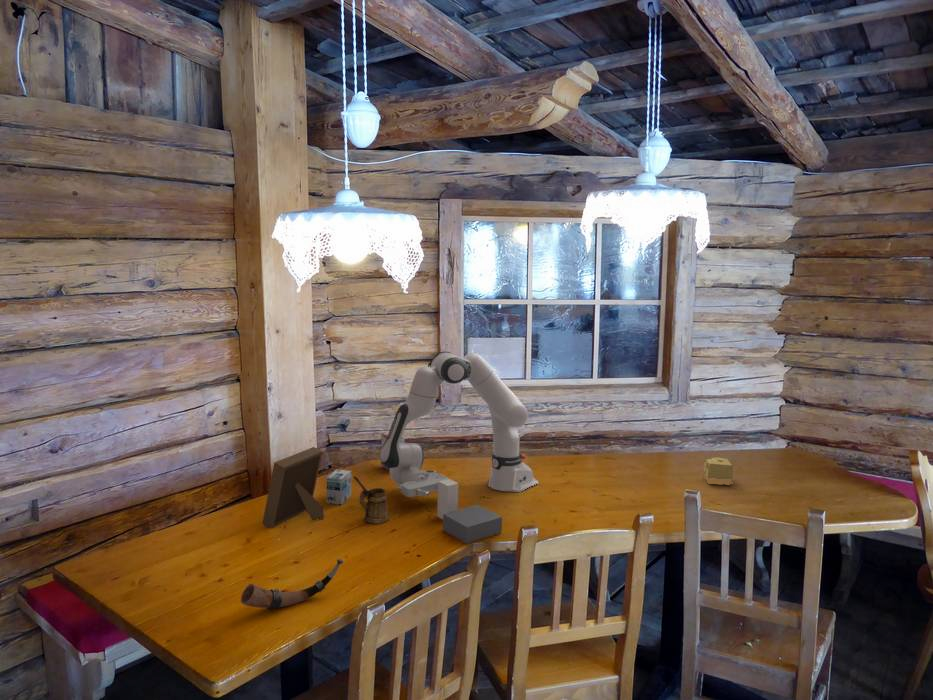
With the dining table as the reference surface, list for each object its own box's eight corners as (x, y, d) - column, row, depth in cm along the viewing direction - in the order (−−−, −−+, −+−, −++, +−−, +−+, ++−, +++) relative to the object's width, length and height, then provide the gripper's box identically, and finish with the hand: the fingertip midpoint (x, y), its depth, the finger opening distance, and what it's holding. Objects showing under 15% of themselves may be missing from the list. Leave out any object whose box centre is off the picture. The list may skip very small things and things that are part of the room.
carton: (448, 513, 267) (448, 478, 265) (457, 518, 263) (458, 483, 260) (437, 516, 264) (438, 481, 262) (446, 521, 260) (447, 486, 257)
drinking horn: (238, 613, 193) (238, 579, 192) (338, 585, 210) (338, 554, 208) (245, 622, 189) (244, 588, 187) (346, 593, 205) (346, 561, 204)
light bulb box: (342, 505, 272) (342, 479, 271) (325, 503, 274) (325, 477, 272) (351, 495, 283) (351, 470, 281) (336, 494, 284) (336, 468, 282)
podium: (477, 519, 262) (477, 504, 261) (501, 532, 251) (502, 517, 250) (442, 529, 252) (443, 514, 251) (466, 543, 241) (467, 527, 241)
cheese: (702, 477, 318) (704, 456, 317) (726, 479, 317) (728, 457, 315) (706, 485, 308) (708, 463, 306) (732, 487, 307) (734, 465, 305)
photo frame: (262, 526, 251) (261, 459, 246) (301, 506, 270) (301, 444, 266) (294, 535, 244) (295, 467, 240) (332, 514, 264) (333, 451, 259)
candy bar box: (380, 468, 318) (380, 433, 315) (388, 465, 321) (389, 431, 319) (396, 474, 310) (396, 438, 308) (404, 471, 314) (405, 436, 311)
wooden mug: (350, 518, 260) (350, 472, 257) (384, 513, 266) (385, 468, 263) (356, 527, 252) (356, 480, 249) (392, 522, 258) (392, 475, 255)
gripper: (395, 479, 271) (414, 489, 261) (437, 469, 284) (458, 479, 273) (394, 494, 272) (414, 505, 262) (437, 484, 285) (457, 494, 274)
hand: (437, 492), depth 268 cm, fingers open, 8 cm apart
